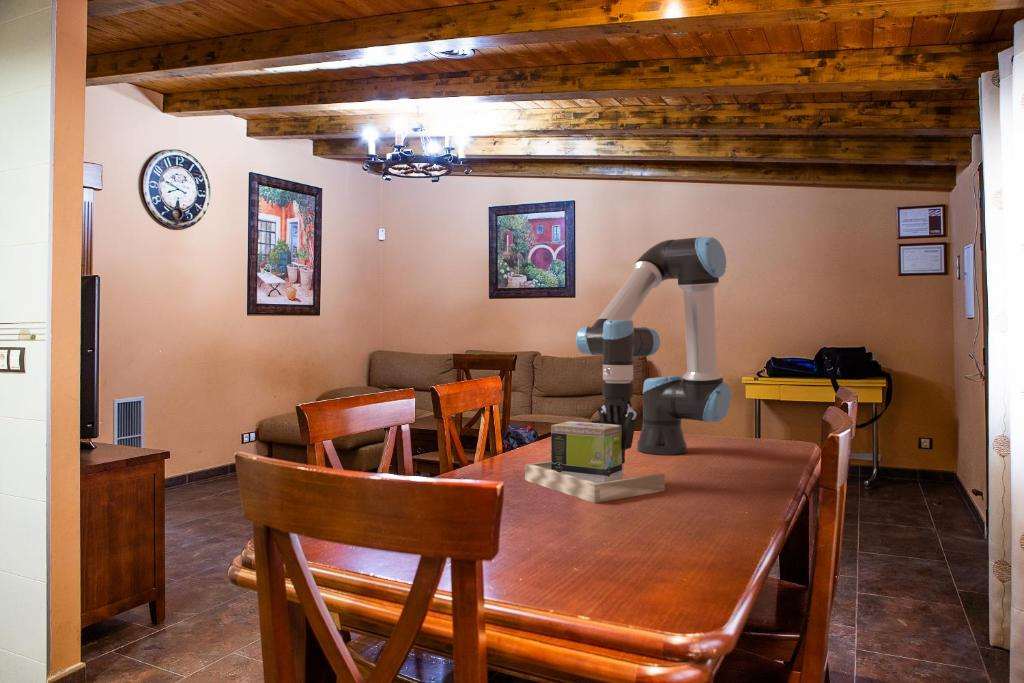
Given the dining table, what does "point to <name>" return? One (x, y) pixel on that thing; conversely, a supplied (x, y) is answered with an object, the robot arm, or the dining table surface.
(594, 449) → the tea box
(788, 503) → the dining table surface
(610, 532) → the dining table surface
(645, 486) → the corral
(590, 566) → the dining table surface
